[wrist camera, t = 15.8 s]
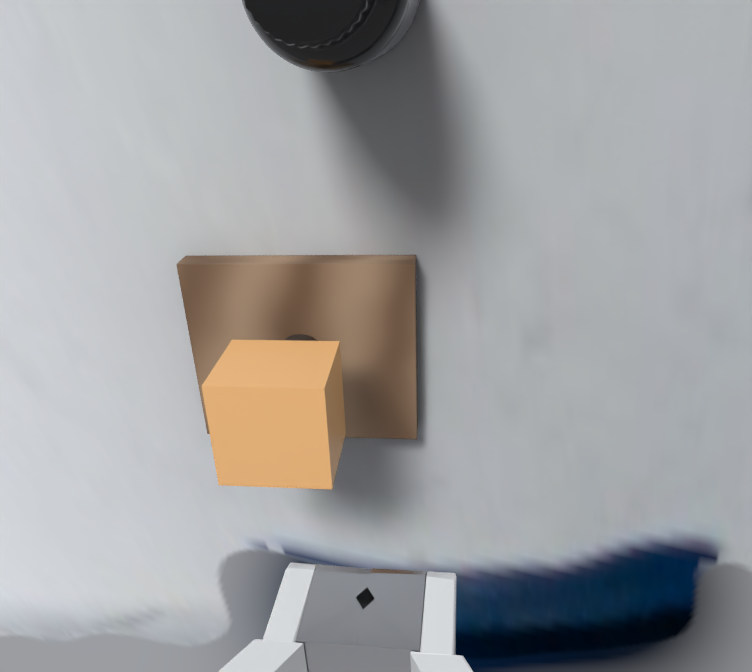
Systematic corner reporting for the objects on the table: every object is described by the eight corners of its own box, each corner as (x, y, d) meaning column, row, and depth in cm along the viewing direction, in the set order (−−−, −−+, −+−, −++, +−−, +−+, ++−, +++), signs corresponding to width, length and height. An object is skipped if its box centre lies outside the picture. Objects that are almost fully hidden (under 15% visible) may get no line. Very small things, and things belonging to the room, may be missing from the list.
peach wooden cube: (339, 341, 35) (324, 388, 31) (345, 433, 38) (332, 489, 33) (231, 339, 36) (201, 386, 31) (245, 430, 38) (218, 485, 34)
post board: (415, 255, 38) (406, 323, 30) (417, 425, 43) (410, 525, 35) (185, 255, 40) (114, 321, 31) (214, 421, 45) (160, 516, 36)
